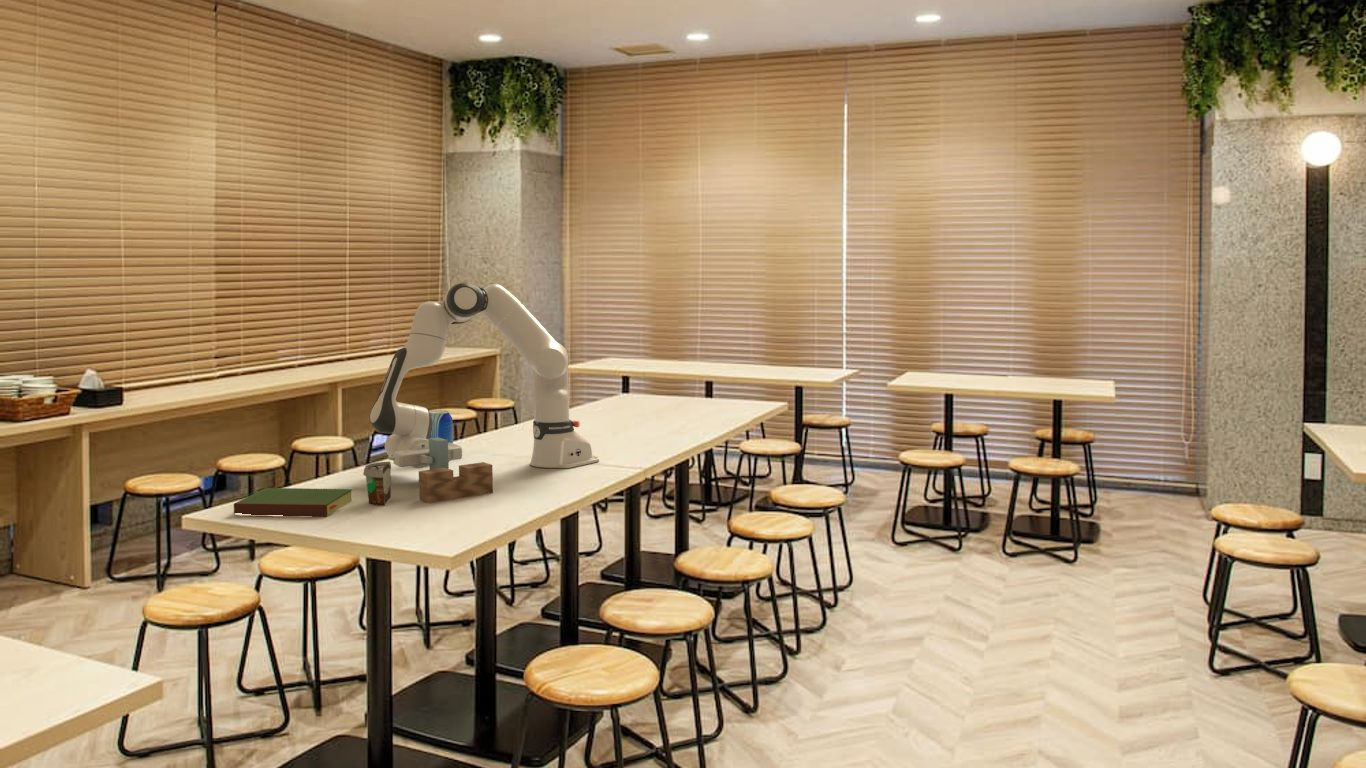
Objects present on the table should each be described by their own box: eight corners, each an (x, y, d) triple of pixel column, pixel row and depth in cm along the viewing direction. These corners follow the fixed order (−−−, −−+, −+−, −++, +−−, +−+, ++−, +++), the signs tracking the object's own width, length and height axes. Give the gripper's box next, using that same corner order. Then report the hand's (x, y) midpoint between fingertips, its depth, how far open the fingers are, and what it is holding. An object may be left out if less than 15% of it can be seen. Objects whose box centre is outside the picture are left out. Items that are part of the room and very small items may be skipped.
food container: (369, 497, 299) (368, 461, 298) (392, 496, 299) (390, 461, 298) (359, 507, 286) (358, 470, 285) (383, 506, 287) (382, 469, 286)
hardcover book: (234, 517, 277) (233, 503, 277) (266, 501, 296) (265, 488, 295) (329, 519, 276) (329, 504, 275) (355, 502, 295) (355, 489, 294)
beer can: (447, 462, 348) (445, 413, 346) (422, 461, 350) (421, 413, 348) (457, 458, 356) (456, 410, 355) (433, 457, 358) (432, 409, 356)
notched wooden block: (484, 489, 308) (483, 462, 307) (492, 492, 304) (492, 464, 303) (419, 499, 295) (418, 471, 294) (428, 503, 291) (427, 473, 290)
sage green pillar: (439, 484, 315) (438, 437, 313) (449, 488, 310) (447, 440, 308) (430, 486, 313) (428, 438, 311) (439, 489, 308) (438, 441, 307)
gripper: (384, 446, 313) (406, 452, 303) (448, 438, 326) (471, 444, 316) (385, 467, 314) (407, 475, 304) (449, 459, 327) (471, 465, 317)
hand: (440, 459), depth 310 cm, fingers closed on sage green pillar, 3 cm apart
